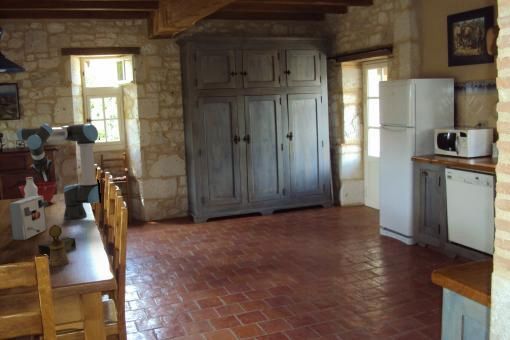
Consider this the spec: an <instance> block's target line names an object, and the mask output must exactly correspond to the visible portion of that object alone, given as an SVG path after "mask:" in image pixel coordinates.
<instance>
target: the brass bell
mask: <svg viewBox="0 0 510 340" xmlns="http://www.w3.org/2000/svg"><path fill="white" fill-rule="evenodd" d="M48 235H49V236H50V237H51V238H52V240H51V241H52V242H51V241H50V242H51V244H50V257H49V259H50V260H49V265H50V266H51V267H60V266H64V265H67V264H69V258H68V254H67V251H65V244H64V242H63V240H59V239H60V236H61V235H62V228H61V227H60V226H59V225H57V224H53V225H52V226H50V227H49V229H48Z"/></svg>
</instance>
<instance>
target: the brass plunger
mask: <svg viewBox="0 0 510 340" xmlns="http://www.w3.org/2000/svg"><path fill="white" fill-rule="evenodd" d="M31 215H32V218H35V219H39V218H40V212H39V211H37V212H35V213H31Z"/></svg>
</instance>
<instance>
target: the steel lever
mask: <svg viewBox="0 0 510 340" xmlns="http://www.w3.org/2000/svg"><path fill="white" fill-rule="evenodd" d="M28 230H34V231H36V232H38V234H40V233H39V232H40V230H39V229H35V228H32V226H30V227H28Z"/></svg>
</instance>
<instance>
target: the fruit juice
mask: <svg viewBox="0 0 510 340" xmlns="http://www.w3.org/2000/svg"><path fill="white" fill-rule="evenodd" d="M25 181H26V183H25V185H26V186H25V188H24V192H25V198H27V197H30V196H38V194H37V191H38V189H37V186H36V185H35V184H36V183H35V182H34V177H33V176H28V177H25Z"/></svg>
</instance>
